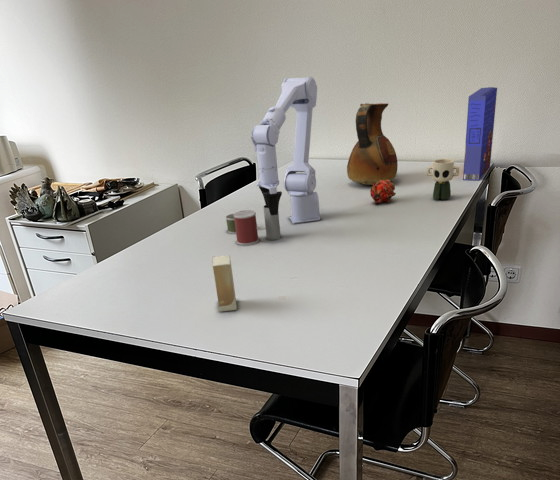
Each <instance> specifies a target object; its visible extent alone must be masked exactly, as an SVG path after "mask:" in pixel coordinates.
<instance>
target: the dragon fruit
mask: <svg viewBox="0 0 560 480" xmlns="http://www.w3.org/2000/svg"><path fill="white" fill-rule="evenodd" d="M371 186H372V187H371V189H370V191H369V193H370V197H371V198H372V200H373V201H374V204H375V205H380V204H382V203H384V202H385V203H389V202H390V201H392V200H391V199H392V198H393V197H395V196H396V192H394V191H395V190H396V187H395V184H394V182H392V181H391V180H386V181H384V180H383V179H380V182H375V183H374V185H371Z"/></svg>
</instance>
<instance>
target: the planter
mask: <svg viewBox="0 0 560 480" xmlns="http://www.w3.org/2000/svg"><path fill="white" fill-rule="evenodd" d="M279 214H280V213H279V212H278V215H271V214H270V211H269V207H268V204H267V205H266V204H265V205H263V215H264V225H265V235H266V236H265V237H266V239H267V240H270V241H276V240H279V239H280V238H281V236H282V235H281V226H280V215H279Z"/></svg>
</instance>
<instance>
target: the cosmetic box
mask: <svg viewBox="0 0 560 480" xmlns="http://www.w3.org/2000/svg"><path fill="white" fill-rule="evenodd" d="M211 262H212V270H213V278H214V284H215V289H216V297H217V304H218V309H219V312H221V313H222V312H229V311H230V312H231V311H236V310H238V309H237V308H238V306H237V297H236V289H235V281H234V276H233V275H234V273H233V268H232V260H231V255H230V254H226V255H220V256H219V255H218V256H213V257H212V261H211Z"/></svg>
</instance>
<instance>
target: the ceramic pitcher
mask: <svg viewBox="0 0 560 480" xmlns="http://www.w3.org/2000/svg"><path fill="white" fill-rule="evenodd" d="M359 106H360V107H359V108H358V109H357V112H356V113H355V131H356V136H357V141H356V143H355V145H354V146H353V148H352V150H351V152H350V154H349V158H348V161H347V165H346V175H347V178H348V179H349V180H350V181H352V182H356V183H358V184H363V185H370V186H373V185H374V183H375V182H380V179H383V180H384V181H386V180H390V181H391V180H394V179H395V178H396V176H397V174H398V167H399V166H398V165H399V164H398V156H397V152H396V149H395V147H394V146H393V144H392V142H391V141H390V140H389V138H388V137H387V136H386V135H384V132H383V130H382V120H383V113H384V111H385V110H386V108H387V107H388V106H389V102H387V103H384V102H383V103H382V102H380V103H379V102H378V103H369V102H366V103H360V104H359Z"/></svg>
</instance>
